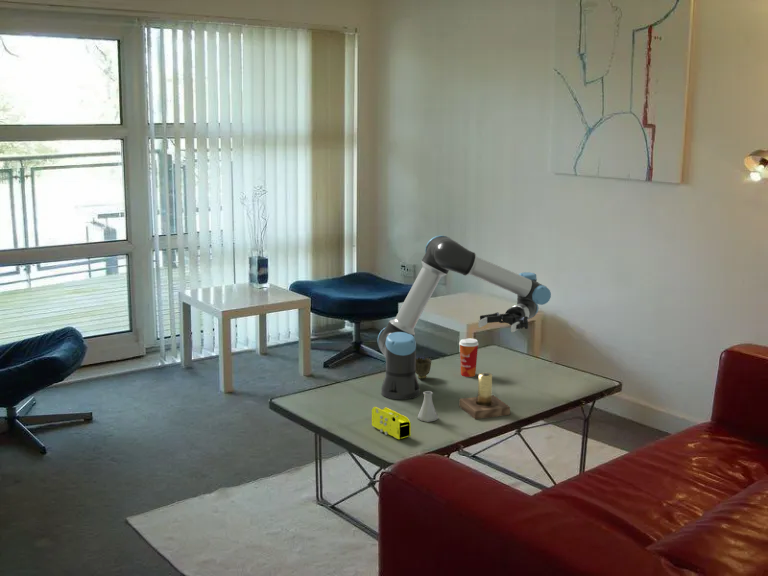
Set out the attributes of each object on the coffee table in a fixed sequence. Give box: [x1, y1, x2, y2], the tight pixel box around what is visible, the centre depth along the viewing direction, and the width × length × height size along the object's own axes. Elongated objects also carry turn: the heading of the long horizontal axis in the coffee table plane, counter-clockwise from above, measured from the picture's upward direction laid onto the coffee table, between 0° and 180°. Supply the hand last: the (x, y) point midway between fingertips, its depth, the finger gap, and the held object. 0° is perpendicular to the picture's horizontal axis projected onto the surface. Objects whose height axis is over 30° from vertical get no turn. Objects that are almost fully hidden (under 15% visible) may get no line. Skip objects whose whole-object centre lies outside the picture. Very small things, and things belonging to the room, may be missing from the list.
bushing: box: [477, 372, 493, 406], centre depth 313 cm, size 5×5×14 cm
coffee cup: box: [458, 337, 480, 378], centre depth 355 cm, size 8×8×15 cm
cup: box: [415, 357, 432, 380], centre depth 351 cm, size 8×7×8 cm
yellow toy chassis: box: [371, 406, 412, 440], centre depth 292 cm, size 16×6×8 cm, turn 36°
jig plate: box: [458, 394, 511, 420], centre depth 314 cm, size 14×14×3 cm
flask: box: [417, 390, 439, 423], centre depth 305 cm, size 7×7×10 cm
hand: (495, 326), depth 325 cm, fingers open, 13 cm apart
